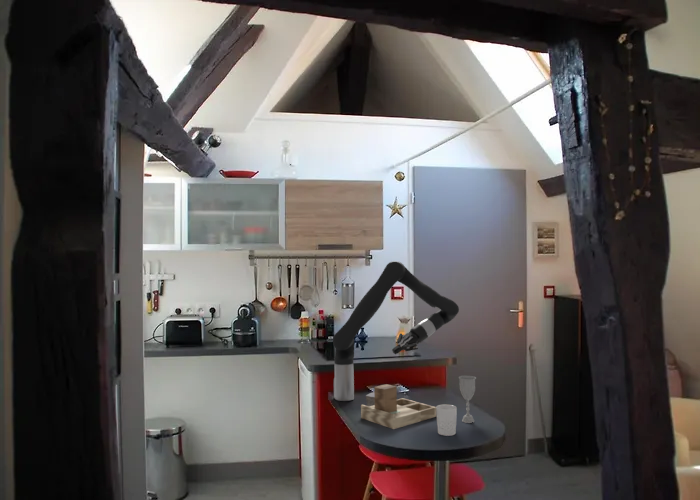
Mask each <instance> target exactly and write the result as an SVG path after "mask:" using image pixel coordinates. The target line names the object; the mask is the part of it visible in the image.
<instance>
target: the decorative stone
mask: <svg viewBox="0 0 700 500" xmlns="http://www.w3.org/2000/svg"><path fill="white" fill-rule="evenodd" d="M365 401H366V406H373V405H375V394H374V391H373V392H370V393H368V394H366V395H365Z"/></svg>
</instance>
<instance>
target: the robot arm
mask: <svg viewBox="0 0 700 500" xmlns="http://www.w3.org/2000/svg"><path fill="white" fill-rule="evenodd" d="M397 282H399V283H401V284H402V285H403V286H405V287H407V288H408V289H410V291H411V292H413V293H414V294H415V295H416V296H418V298H420V300H422V301H423V302H425V303H426V304H427V305H428V306H430V307H432V308H434V309H435V308H437V309H439V310H438V311H436V312H434V313H432V314H431V315H430V316H428V317H427V318H425V319H423V320H421V321H420V322H418V323H417V324H416V325H414V326H413V327H412V328H411V329H410V330H409V332H407V333H405V334H403V333H402V332H401V333H399V334H398V338H397V341H396V343H397V345H396V346H394V347H393V348H392V350H391V351H392V353H393V354H394V355H397V354H399V353H400V352H402V351H405V352H409V351H415V350H418V349H419V346H418V345H419V344H421V343H423V342H424V341H425V340H427V339H428V338H430V337H431V336H432V335H433V334H434V333H435V332H436V331H438V330H439V329H440V328H441V327H442V326H444V325H446V324H448V323H450V322H451V321H453V319H455V318H456V316H458V314H459V310H460V307H459V305H458V304H457V303H456V302H455V301H454V300H452V299H450V298H448V297H446V296H444V295H441V294H440V293H439V292H437V291H436V290H435V289H433V288H432V287H431V286H429V285H428V284H426V283H425V282H424V281H422V280H420V279H419V278H417V276H415V275H414V274H413V273H412V272H411V271H409V269H408V268H407V267H406V266H405V264H403V262H400V261H397V260H393V261H392V260H391V261H390V262H388V263H387V264H386V265H385V267H384V269H383V271H382V272H381V274H380V275H379V277H378V279H377V280H376V282H375V283H374V284H373V285H372V286H371V287H370V288H369V289H368V290H367V292H366V293H365V295H364V296H363V297H362V298H361V299H360V301H359V302H358V304H357V305H356V307H355V308H354V310H353V312H351V314H350V316H349V317H348V319H347V320H346V322H345V323H344V324H343V325H342V327H341V328H339V330H337V331H336V333H335V334H334V335H333V337H332V345H333V346H334V348H335V353H334V364H333V365H334V378H333V398H334V400H336V401H339V402H340V401H341V402H348V401H352V400H354V399H355V385H354V384H355V380H354V379H355V376H354V374H355V373H354V357H355V337H356V336H357V334H358V333H359V332H360V330H361V329H362V328H364V326H366V324H367V323H368V322H369V321H370V320H371V319H372V318H373V317H374V315H376V314H377V312H378V311H379V309H380V308H381V306H382V305H383V303H384V300H385V299H386V296H387V294H388V292H389V291H390V290H391V289H392V287H394V285H395V284H396V283H397Z"/></svg>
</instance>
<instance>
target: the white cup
mask: <svg viewBox="0 0 700 500" xmlns="http://www.w3.org/2000/svg"><path fill="white" fill-rule="evenodd" d="M435 407H436V426H437V433H438V434H439V435H441V436H447V437H449V436H450V437H451V436H454V435H456V433H457V432H456V431H457V430H456V429H457V416H458V415H457V411H458V409H457V406H456V405H453V404H445V403H443V404H438V405H436V406H435Z"/></svg>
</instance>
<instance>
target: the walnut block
mask: <svg viewBox="0 0 700 500" xmlns="http://www.w3.org/2000/svg"><path fill="white" fill-rule="evenodd" d="M373 392H374V394H375V409H378V410H382V411H385V412H388V413H390V412H394V411H397V399H398V398H397V397H398V396H397V395H398V394H397V392H398V391H397V386H395V385H391V384H387V383H386V384H381V385H378V386H377V385H376V386H374V391H373Z"/></svg>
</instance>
